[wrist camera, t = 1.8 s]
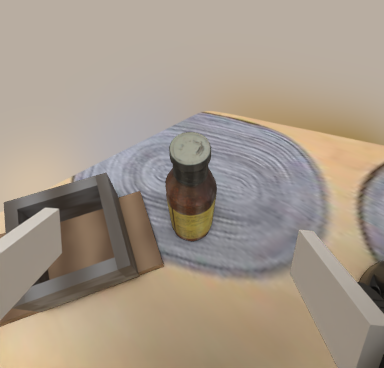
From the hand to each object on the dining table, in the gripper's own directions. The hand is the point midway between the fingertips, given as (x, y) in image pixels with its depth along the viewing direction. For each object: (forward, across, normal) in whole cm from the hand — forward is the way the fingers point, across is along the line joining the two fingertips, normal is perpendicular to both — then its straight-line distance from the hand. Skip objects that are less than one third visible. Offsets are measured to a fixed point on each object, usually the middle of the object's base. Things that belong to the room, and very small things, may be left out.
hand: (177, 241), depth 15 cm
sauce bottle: (+27, +1, -11) cm, 29 cm away
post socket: (+22, -16, -16) cm, 31 cm away
